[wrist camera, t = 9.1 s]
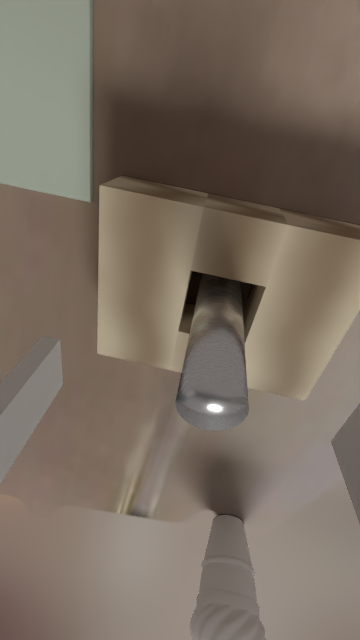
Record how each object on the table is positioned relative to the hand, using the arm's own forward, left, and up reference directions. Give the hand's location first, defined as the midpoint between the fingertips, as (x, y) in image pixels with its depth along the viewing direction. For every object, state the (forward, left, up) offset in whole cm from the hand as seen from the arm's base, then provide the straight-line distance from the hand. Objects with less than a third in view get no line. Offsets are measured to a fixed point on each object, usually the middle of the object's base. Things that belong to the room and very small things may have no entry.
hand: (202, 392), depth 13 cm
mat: (-15, +9, -11) cm, 20 cm away
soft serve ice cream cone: (+10, -36, -11) cm, 39 cm away
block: (0, 0, -11) cm, 11 cm away
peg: (0, 0, -11) cm, 11 cm away
